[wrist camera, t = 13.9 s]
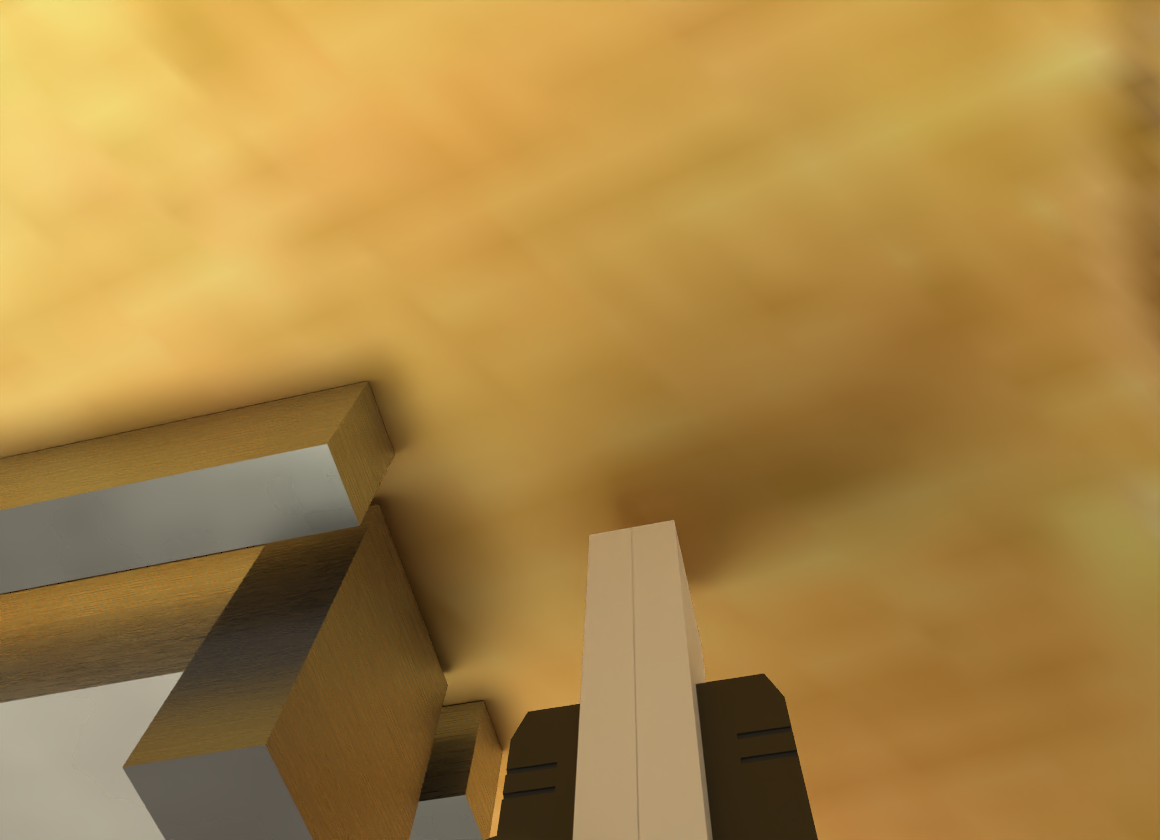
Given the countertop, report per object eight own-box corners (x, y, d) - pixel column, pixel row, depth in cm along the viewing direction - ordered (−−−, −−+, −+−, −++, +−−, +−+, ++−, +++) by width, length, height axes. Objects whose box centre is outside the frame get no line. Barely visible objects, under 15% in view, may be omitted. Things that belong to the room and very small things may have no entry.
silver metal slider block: (378, 504, 17) (265, 745, 11) (447, 685, 19) (377, 967, 13) (-176, 610, 19) (-506, 866, 13) (-65, 768, 20) (-315, 1051, 15)
